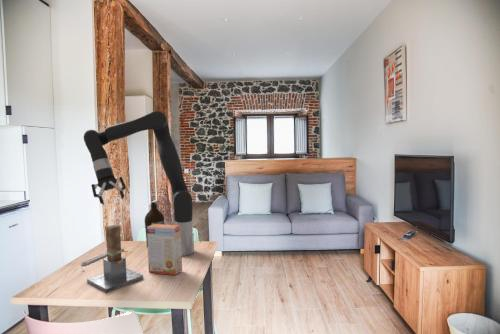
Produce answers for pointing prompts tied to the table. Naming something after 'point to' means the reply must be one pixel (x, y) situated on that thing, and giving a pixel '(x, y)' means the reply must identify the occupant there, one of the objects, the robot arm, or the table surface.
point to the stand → (114, 276)
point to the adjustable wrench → (96, 258)
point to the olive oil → (153, 217)
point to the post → (113, 242)
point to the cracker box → (164, 249)
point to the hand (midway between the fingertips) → (113, 201)
